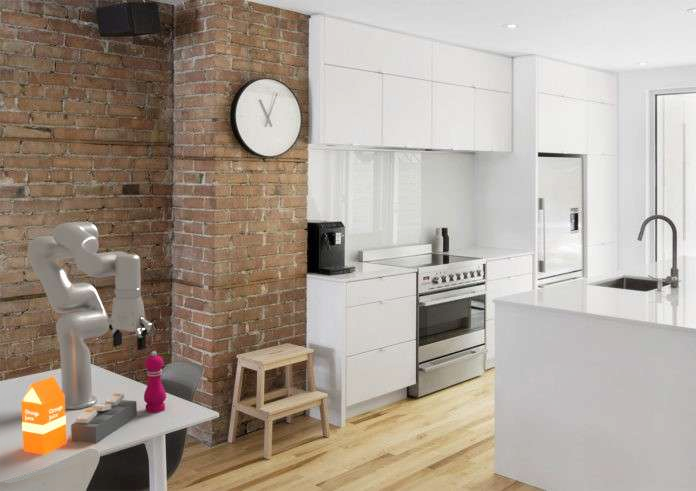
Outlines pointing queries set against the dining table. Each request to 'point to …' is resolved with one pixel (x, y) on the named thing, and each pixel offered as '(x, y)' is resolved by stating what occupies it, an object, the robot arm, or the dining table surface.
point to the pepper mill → (154, 384)
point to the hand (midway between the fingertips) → (129, 347)
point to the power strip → (104, 422)
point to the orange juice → (43, 417)
